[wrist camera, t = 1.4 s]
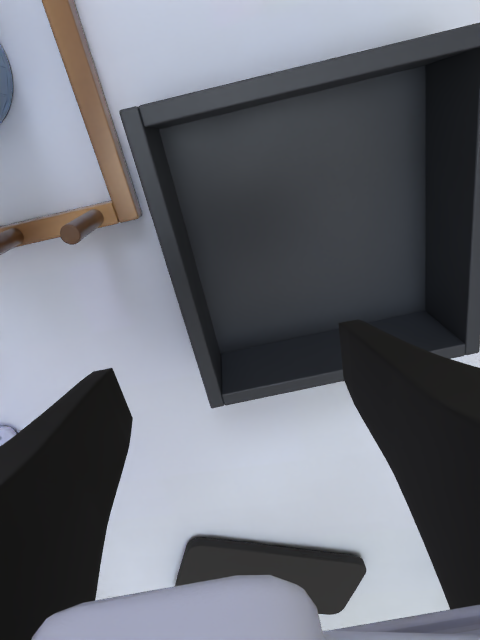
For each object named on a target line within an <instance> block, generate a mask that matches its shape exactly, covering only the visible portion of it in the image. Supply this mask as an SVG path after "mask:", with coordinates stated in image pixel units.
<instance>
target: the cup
mask: <svg viewBox="0 0 480 640" xmlns="http://www.w3.org/2000/svg"><path fill="white" fill-rule="evenodd" d="M12 94H13V81H12V74H11V69H10V65H9V62H8V59H7V56H6V54H5V52H4V50H3V48H2V46H1V44H0V123H1V122H2V121H3V119H4V118H5V116H6V115H7V112H8V110H9V108H10V104H11V101H12Z"/></svg>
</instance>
